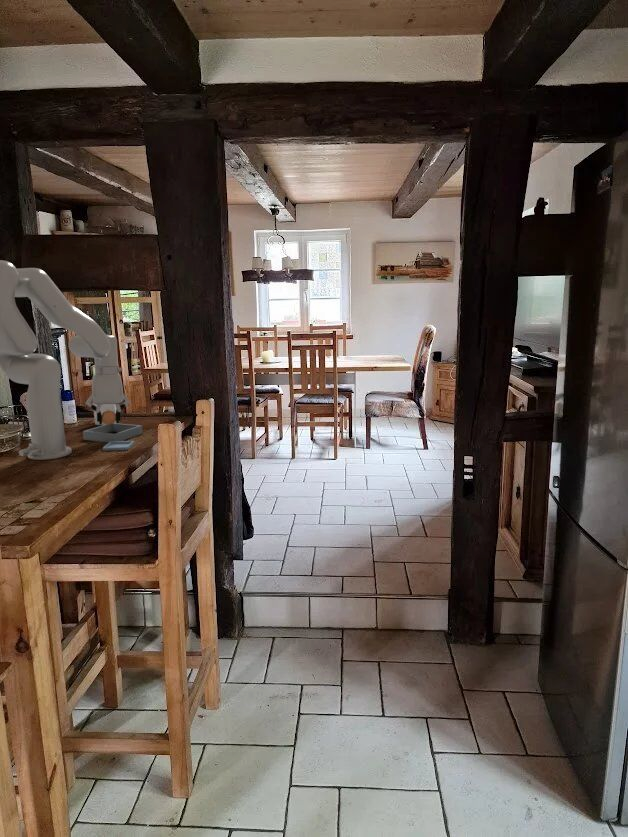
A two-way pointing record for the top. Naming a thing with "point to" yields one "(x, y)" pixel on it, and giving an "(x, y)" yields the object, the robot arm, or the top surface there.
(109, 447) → the coaster
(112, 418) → the ball
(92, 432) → the grey square tray
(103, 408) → the jar
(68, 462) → the top surface
